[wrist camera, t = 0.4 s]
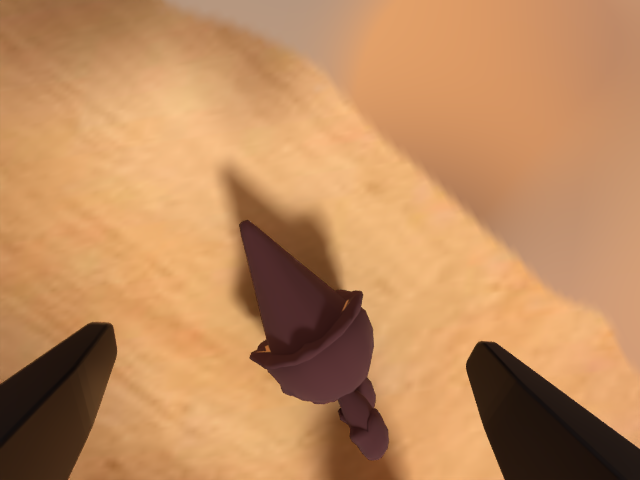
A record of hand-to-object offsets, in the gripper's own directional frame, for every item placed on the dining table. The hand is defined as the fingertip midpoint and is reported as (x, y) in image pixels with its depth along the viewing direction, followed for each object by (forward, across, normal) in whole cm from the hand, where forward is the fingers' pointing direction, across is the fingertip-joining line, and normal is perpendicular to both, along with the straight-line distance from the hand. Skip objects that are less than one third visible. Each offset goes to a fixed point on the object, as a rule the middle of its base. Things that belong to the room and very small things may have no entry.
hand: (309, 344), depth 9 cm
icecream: (+11, -2, +10) cm, 15 cm away
